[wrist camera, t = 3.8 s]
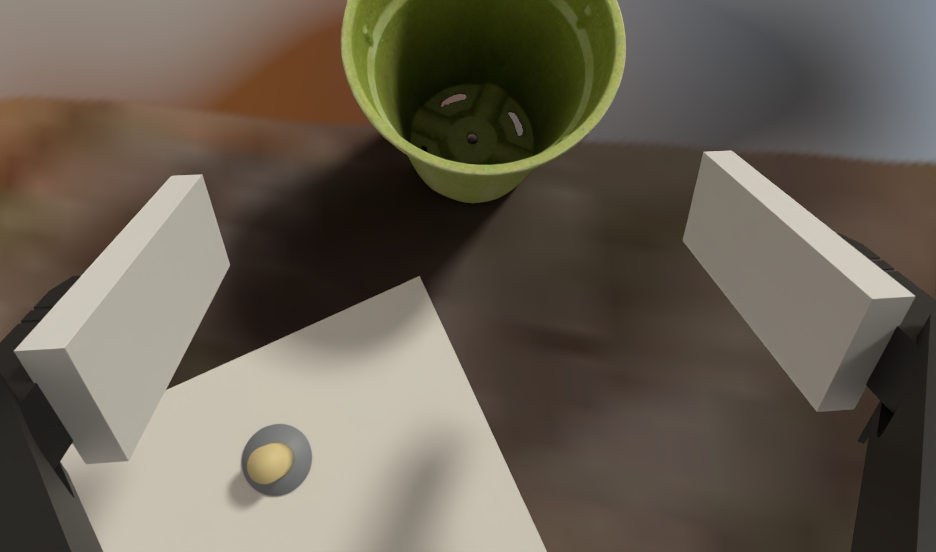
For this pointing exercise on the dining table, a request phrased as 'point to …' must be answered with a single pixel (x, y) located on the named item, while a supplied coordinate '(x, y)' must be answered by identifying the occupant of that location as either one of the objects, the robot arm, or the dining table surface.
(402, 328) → the pin board
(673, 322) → the dining table surface
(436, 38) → the plant pot
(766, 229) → the robot arm
